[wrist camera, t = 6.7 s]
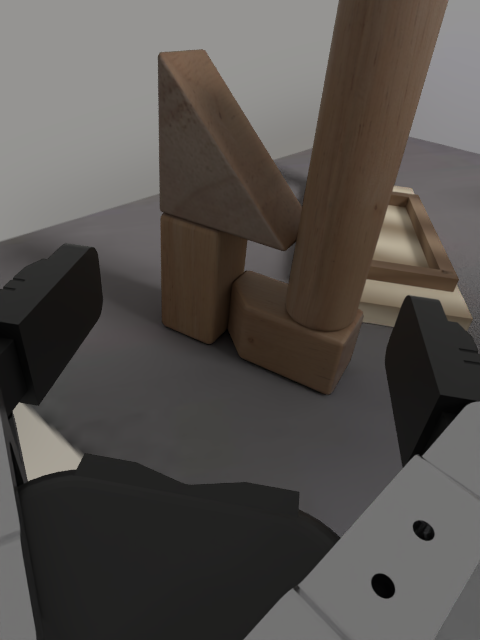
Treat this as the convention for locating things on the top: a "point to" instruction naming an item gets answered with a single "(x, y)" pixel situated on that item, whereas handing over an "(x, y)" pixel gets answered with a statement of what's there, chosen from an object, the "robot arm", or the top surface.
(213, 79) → the wooden block
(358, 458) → the top surface
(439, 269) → the seat board
